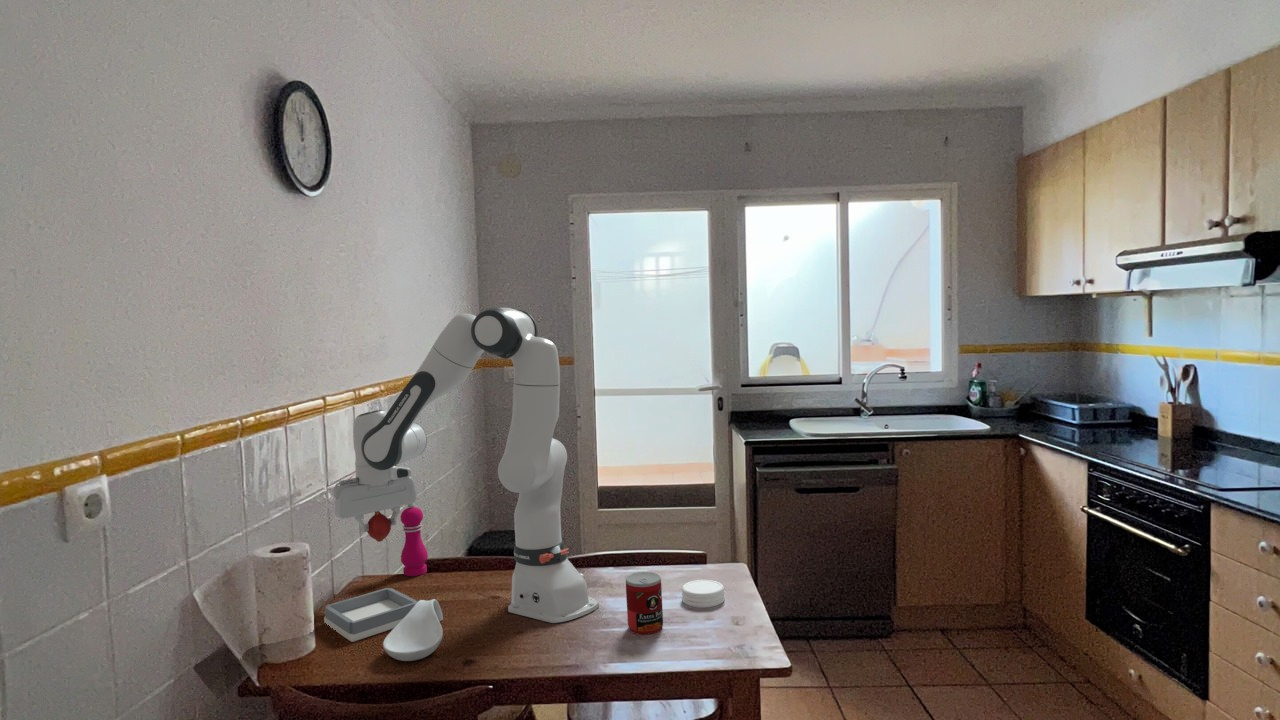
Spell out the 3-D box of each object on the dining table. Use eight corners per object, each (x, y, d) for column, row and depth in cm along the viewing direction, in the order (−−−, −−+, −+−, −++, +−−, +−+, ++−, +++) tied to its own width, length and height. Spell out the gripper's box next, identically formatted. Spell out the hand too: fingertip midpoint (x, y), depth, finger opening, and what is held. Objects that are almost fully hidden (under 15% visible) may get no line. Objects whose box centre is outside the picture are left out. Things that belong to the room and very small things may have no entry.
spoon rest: (437, 666, 143) (435, 630, 143) (377, 671, 142) (374, 635, 142) (457, 619, 166) (455, 589, 166) (405, 624, 165) (403, 593, 165)
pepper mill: (432, 568, 204) (428, 498, 204) (422, 577, 197) (418, 504, 197) (408, 568, 205) (404, 499, 204) (397, 577, 198) (392, 505, 197)
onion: (371, 539, 187) (369, 508, 186) (394, 537, 187) (392, 506, 187) (365, 545, 181) (362, 514, 180) (388, 543, 181) (385, 512, 181)
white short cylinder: (706, 590, 177) (706, 576, 177) (733, 601, 169) (732, 586, 169) (673, 600, 172) (673, 585, 172) (699, 612, 163) (699, 597, 163)
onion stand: (420, 619, 167) (419, 602, 167) (352, 642, 156) (350, 623, 156) (390, 603, 179) (389, 587, 178) (324, 623, 168) (323, 606, 167)
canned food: (638, 638, 151) (635, 586, 150) (621, 625, 158) (619, 576, 157) (670, 630, 154) (667, 579, 154) (652, 617, 161) (650, 569, 161)
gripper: (338, 483, 174) (342, 540, 174) (417, 468, 188) (421, 521, 188) (328, 480, 178) (332, 536, 179) (406, 466, 192) (410, 517, 193)
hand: (378, 528), depth 184 cm, fingers closed on onion, 6 cm apart
